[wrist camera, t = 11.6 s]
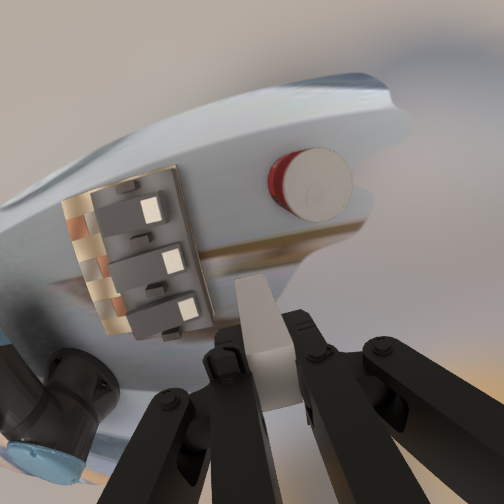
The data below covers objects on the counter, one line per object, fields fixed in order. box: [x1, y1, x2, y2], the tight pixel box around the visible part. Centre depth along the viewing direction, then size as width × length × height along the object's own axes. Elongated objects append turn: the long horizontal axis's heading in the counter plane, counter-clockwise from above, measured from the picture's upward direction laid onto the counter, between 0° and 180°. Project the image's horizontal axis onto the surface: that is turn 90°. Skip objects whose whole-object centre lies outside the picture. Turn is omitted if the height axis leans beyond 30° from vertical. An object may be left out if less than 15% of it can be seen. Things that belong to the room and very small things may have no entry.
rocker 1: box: [96, 190, 170, 238], centre depth 32 cm, size 9×4×1 cm, turn 101°
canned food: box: [268, 148, 353, 222], centre depth 35 cm, size 8×8×11 cm
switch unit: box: [61, 165, 214, 342], centre depth 37 cm, size 18×22×7 cm
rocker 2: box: [126, 290, 201, 341], centre depth 35 cm, size 9×4×1 cm, turn 102°
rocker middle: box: [107, 242, 187, 293], centre depth 34 cm, size 9×4×1 cm, turn 102°
